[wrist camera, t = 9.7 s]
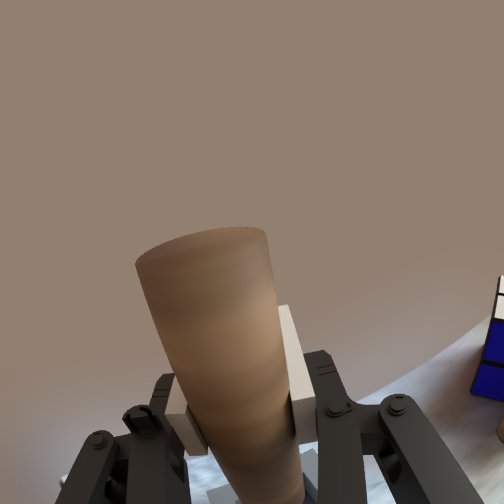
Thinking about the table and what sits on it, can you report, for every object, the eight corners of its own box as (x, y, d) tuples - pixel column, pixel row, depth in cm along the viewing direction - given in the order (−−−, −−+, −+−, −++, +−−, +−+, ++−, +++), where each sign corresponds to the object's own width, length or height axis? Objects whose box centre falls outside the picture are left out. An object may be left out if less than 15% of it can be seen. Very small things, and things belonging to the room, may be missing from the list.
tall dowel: (317, 500, 12) (293, 238, 7) (260, 530, 10) (142, 288, 6) (284, 463, 15) (233, 221, 10) (232, 488, 13) (130, 252, 9)
